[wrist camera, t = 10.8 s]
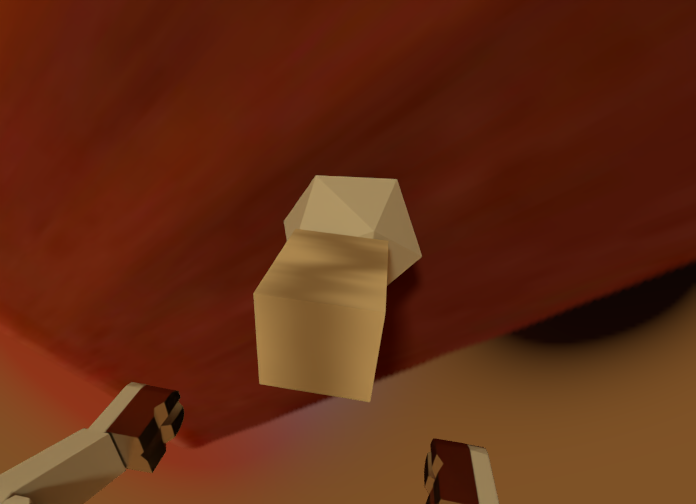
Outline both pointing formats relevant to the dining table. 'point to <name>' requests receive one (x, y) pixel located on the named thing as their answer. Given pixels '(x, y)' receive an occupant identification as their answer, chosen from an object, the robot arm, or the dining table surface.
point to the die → (359, 215)
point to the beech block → (322, 314)
